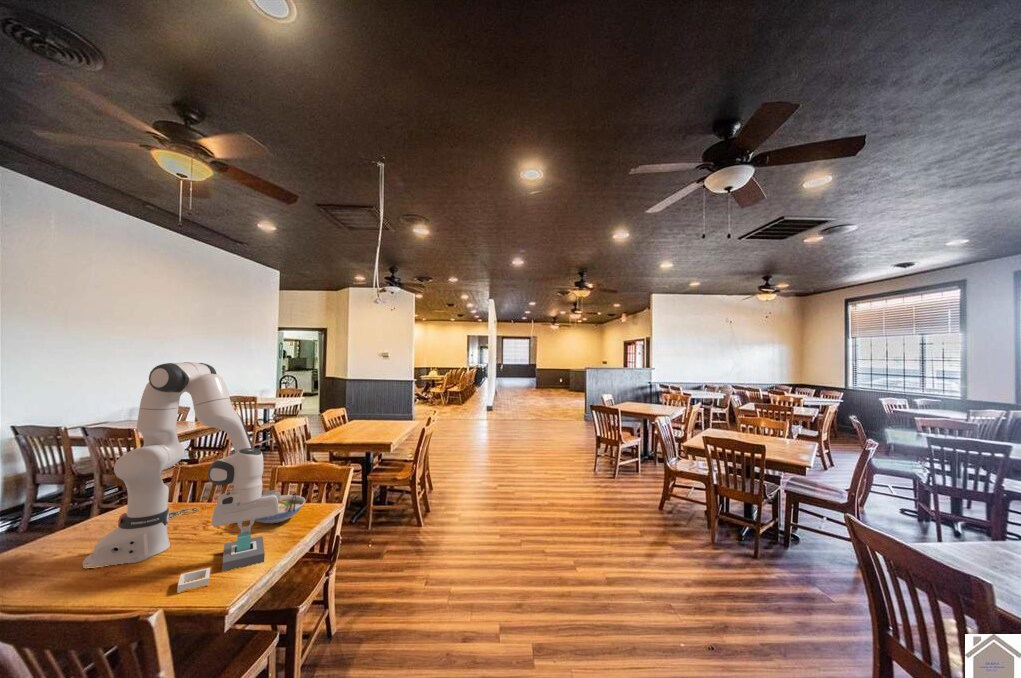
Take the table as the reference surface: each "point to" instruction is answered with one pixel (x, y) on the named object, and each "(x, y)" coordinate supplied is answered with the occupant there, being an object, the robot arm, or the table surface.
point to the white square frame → (193, 576)
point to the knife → (181, 512)
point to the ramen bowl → (285, 509)
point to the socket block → (243, 554)
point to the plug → (243, 541)
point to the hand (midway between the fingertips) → (245, 532)
